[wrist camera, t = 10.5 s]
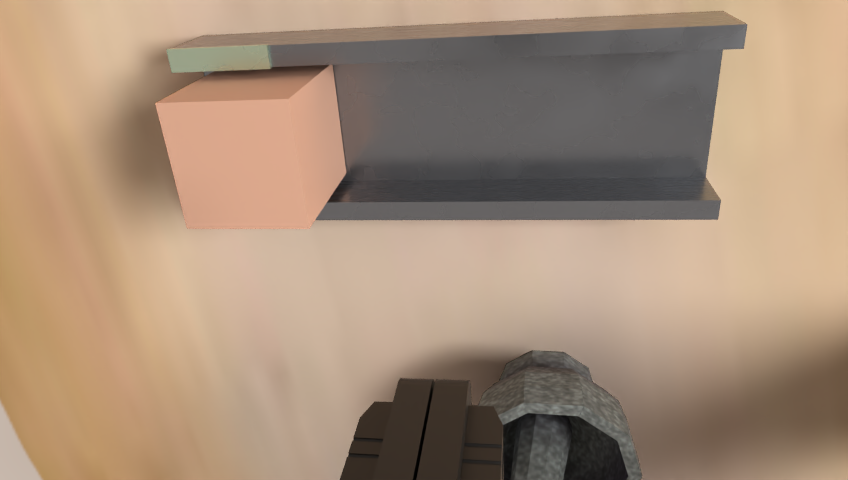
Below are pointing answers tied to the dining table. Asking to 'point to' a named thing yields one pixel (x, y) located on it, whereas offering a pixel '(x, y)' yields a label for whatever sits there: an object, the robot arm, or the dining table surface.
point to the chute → (511, 114)
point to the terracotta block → (255, 147)
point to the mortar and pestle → (560, 422)
